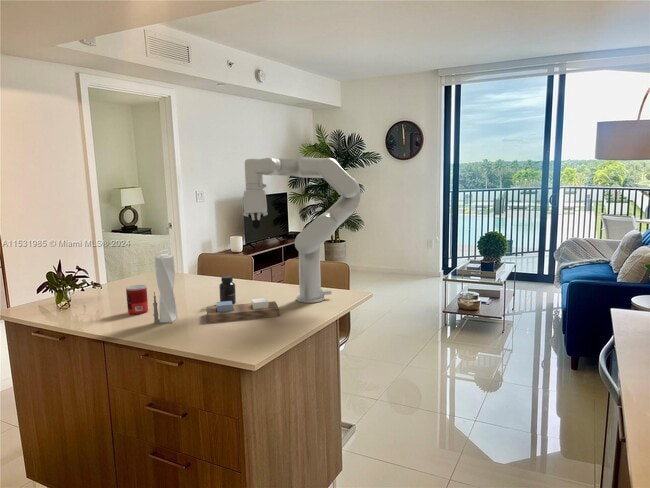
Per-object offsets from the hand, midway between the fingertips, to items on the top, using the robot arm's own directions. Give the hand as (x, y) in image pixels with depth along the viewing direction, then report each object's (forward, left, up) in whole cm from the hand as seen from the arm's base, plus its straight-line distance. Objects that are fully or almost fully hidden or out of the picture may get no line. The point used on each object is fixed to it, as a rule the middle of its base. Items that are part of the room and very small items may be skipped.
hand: (256, 228), depth 212 cm
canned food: (+51, +5, -32) cm, 61 cm away
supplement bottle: (+14, +3, -32) cm, 35 cm away
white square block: (+2, +23, -30) cm, 38 cm away
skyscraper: (+38, +21, -33) cm, 54 cm away
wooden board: (+9, +23, -32) cm, 41 cm away
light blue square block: (+16, +23, -30) cm, 41 cm away
